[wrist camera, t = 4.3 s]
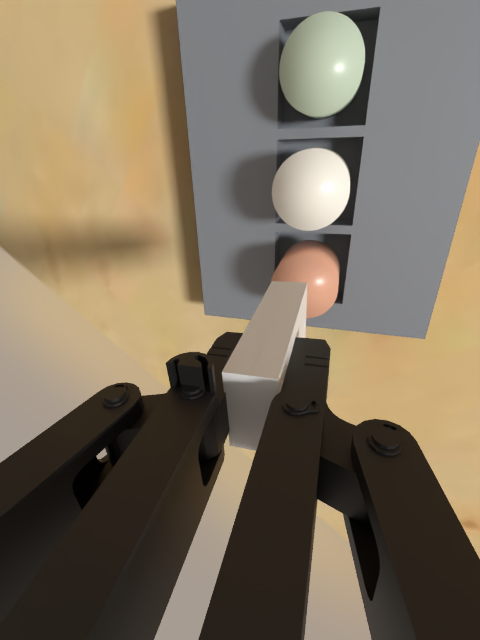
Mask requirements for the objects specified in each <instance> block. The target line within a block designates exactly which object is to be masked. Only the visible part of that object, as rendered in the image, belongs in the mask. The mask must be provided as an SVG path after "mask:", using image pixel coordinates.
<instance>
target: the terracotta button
mask: <svg viewBox="0 0 480 640" xmlns="http://www.w3.org/2000/svg"><path fill="white" fill-rule="evenodd" d="M339 272H340V264H339V259H338V257H337V255H336V253H335V252H334V251H333V249H332V248H331V247H329V246H328V245H327V244H325V243H323V242H320V241H316V240H304V241H301V242H298V243H296V244H294V245H293V246H291V247H290V248H289V249H288V250H287V251H286V253H285V254H284V256H283V258H282V260H281V261H280V263H279V265H278V267H277V269H276V270H275V272H274V274H273V276H272V279H271V282H272V281H281V282H304V283H307V308H306V318H314V317H317V316H320V315H322V314H323V313H325V312H326V311H328V310H329V309H330V308H331V307H332V305H333V304H334V302H335V300H336V298H337V294H338V285H339Z"/></svg>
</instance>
